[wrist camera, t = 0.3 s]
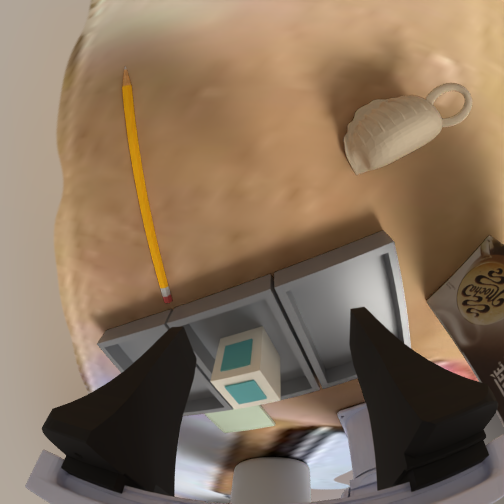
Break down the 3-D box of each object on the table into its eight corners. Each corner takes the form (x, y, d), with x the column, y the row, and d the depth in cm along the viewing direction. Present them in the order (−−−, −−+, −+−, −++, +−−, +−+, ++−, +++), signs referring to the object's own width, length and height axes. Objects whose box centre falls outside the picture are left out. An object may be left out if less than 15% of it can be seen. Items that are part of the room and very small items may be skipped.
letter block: (280, 357, 24) (280, 401, 20) (240, 367, 25) (234, 410, 21) (261, 324, 23) (259, 370, 18) (219, 337, 24) (208, 381, 19)
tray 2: (317, 373, 26) (319, 389, 24) (237, 393, 28) (235, 409, 26) (270, 273, 21) (270, 289, 19) (174, 307, 23) (166, 323, 21)
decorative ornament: (327, 122, 17) (347, 120, 12) (422, 82, 15) (463, 74, 10) (353, 175, 18) (381, 193, 13) (443, 132, 16) (487, 139, 11)
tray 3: (404, 341, 24) (411, 356, 22) (320, 372, 26) (323, 389, 24) (383, 230, 19) (394, 241, 17) (274, 272, 21) (274, 287, 19)
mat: (275, 422, 30) (275, 425, 30) (224, 430, 31) (224, 433, 31) (251, 392, 27) (250, 395, 27) (196, 402, 29) (195, 405, 29)
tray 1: (235, 393, 28) (232, 409, 26) (170, 403, 30) (166, 417, 28) (171, 308, 23) (163, 324, 21) (106, 330, 25) (96, 343, 23)
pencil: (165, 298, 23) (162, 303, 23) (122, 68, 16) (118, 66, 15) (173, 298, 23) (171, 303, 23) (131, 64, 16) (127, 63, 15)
